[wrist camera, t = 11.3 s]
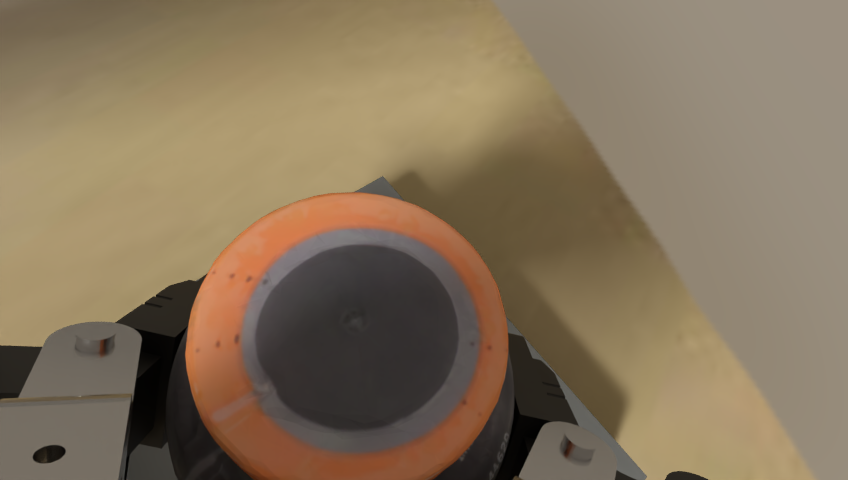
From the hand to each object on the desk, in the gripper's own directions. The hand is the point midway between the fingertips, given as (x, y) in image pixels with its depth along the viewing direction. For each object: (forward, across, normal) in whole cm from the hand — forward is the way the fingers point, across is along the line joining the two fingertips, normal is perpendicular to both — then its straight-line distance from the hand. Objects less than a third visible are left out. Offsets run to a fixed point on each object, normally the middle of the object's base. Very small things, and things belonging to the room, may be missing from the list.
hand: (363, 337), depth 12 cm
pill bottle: (+3, 0, +5) cm, 6 cm away
